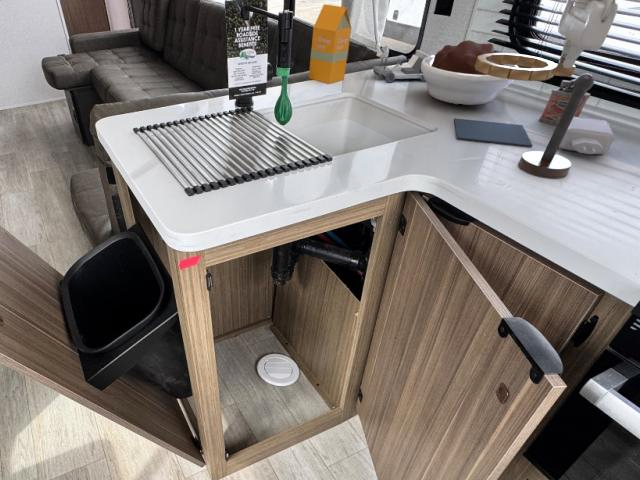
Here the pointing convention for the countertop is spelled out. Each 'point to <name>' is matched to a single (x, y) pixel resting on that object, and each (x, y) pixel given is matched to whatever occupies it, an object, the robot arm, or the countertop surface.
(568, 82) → the lighter
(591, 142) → the charger
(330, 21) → the orange juice
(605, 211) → the countertop surface
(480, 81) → the white bowl of dough
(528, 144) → the mat
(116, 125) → the countertop surface
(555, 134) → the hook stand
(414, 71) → the toy car
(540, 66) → the ring
